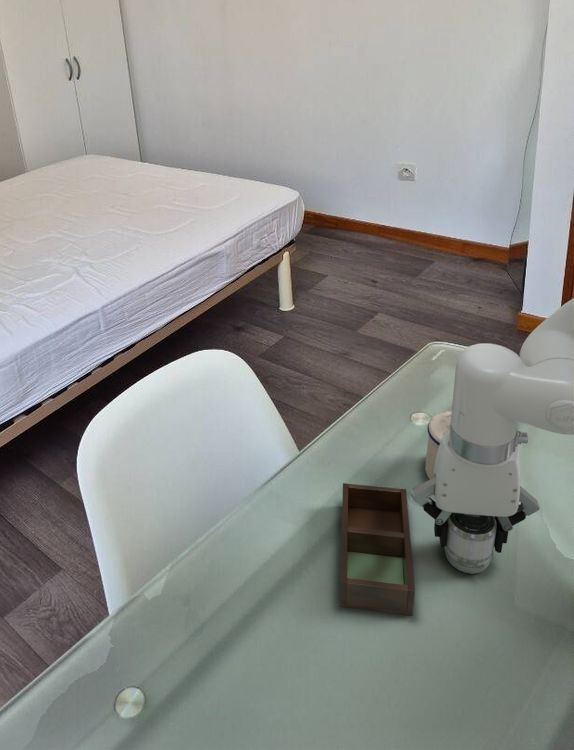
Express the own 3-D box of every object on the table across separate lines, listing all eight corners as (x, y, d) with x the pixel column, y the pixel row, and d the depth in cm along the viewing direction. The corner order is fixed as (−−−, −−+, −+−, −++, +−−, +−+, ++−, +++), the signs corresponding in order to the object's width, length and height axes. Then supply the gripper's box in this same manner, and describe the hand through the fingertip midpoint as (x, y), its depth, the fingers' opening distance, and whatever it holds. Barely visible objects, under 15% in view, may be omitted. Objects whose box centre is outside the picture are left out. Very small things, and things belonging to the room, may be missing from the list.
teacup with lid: (427, 493, 105) (433, 434, 100) (420, 452, 113) (425, 395, 108) (510, 499, 103) (521, 438, 98) (497, 457, 111) (506, 399, 106)
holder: (404, 511, 103) (406, 488, 101) (412, 615, 87) (414, 591, 85) (342, 505, 105) (342, 482, 103) (339, 606, 89) (340, 582, 87)
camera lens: (493, 580, 91) (499, 537, 87) (442, 570, 93) (447, 528, 89) (490, 542, 96) (496, 501, 93) (443, 534, 98) (447, 493, 95)
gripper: (549, 423, 87) (531, 526, 95) (407, 414, 91) (401, 514, 98) (565, 464, 80) (544, 571, 88) (411, 453, 84) (404, 557, 92)
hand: (469, 540), depth 93 cm, fingers closed on camera lens, 6 cm apart
